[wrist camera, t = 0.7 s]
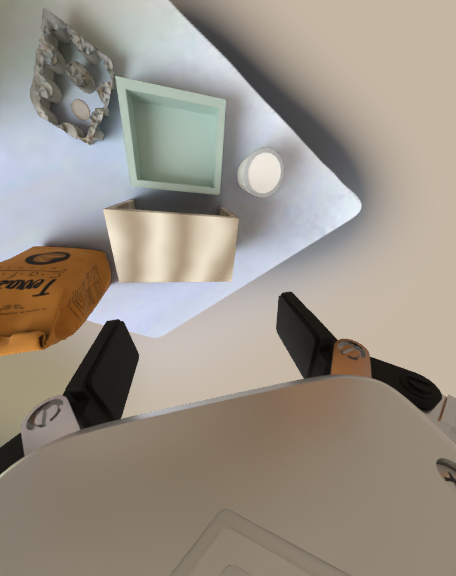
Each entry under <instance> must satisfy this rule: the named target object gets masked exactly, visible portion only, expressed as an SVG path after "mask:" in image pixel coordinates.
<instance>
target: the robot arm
mask: <svg viewBox="0 0 456 576" xmlns="http://www.w3.org/2000/svg"><path fill="white" fill-rule="evenodd" d="M276 330H277V333H278V335H279V337H280V338H281V340H282V342H283V344H284V345H285V347H286V349H287V350H288V352H289V354H290V356H291V357H292V359H293V361H294V362H295V364H296V366H297V368H298V369H299V371H300V373H301V375H302V376H303V378H304V379H302V380H296V381H291V382H286V383H281V384H277V385H272V386H268V387H263V388H258V389H253V390H249V391H244V392H239V393H235V394H231V395H226V396H221V397H216V398H212V399H207V400H203V401H198V402H194V403H189V404H185V405H180V406H176V407H172V408H167V409H163V410H158V411H154V412H149V413H145V414H140V415H136V416H132V417H128V418H123V419H121V417H122V414H123V410H124V407H125V403H126V400H127V397H128V393H129V390H130V387H131V383H132V380H133V376H134V373H135V370H136V366H137V363H138V359H139V354H138V351H137V349H136V347H135V345H134V343H133V341H132V339H131V336H130V334H129V332H128V330H127V328H126V326H125V323H124V322H123V321H120V320H119V319H117V320H111V321H107V322H106V323H105V325H104V326H103V328H102V330H101V331H100V333H99V335H98V336H97V338H96V340H95V341H94V343H93V345H92V346H91V348H90V349H89V351H88V353H87V355H86V356H85V358H84V359H83V361H82V363H81V364H80V366H79V368H78V369H77V371H76V373H75V374H74V376H73V377H72V379H71V381H70V382H69V384H68V386H67V387H66V390H65V392H64V394H63V395H58V396H54V397H51V398H48V399H47V400H45V401H43V402H42V403H40V404H39V405H37V406H36V407H35V408H34V409H33V410H32V411H31V412H30V413H29V414H28V415H27V416H26V418H25V419H24V421H23V423H22V425H21V433H19V434H18V435H17V436H15V437H14V438H13V439H11V440H10V441H9V442H7V443H6V444H4V445H3V446H2V447H0V576H456V398H454V397H452V396H450V395H448V396H447V397H446V396H444V395H442V394H441V392H440V390H439V389H438V388H437V387H436V385H435V384H433V383H432V382H431V381H430V380H428V379H426V378H425V377H424V376H422V375H419V374H417V373H415V372H412V371H409V370H406V369H403V368H401V367H398V366H395V365H392V364H389V363H387V362H384V361H381V360H378V359H375V358H372V357H370V355H369V352H368V350H367V349H366V348H365V347H364V346H363V345H361V344H359V343H358V342H356V341H353V340H350V339H340V340H337V339H336V338H335V337H334V336H333V335H332V334H331V332H330V331H329V330H328V329H327V328H326V327H325V326H324V325H323V324H322V323H321V322H320V321H319V320H318V319H317V317H316V316H315V315H314V314H313V313H312V312H311V311H310V310H308V309H307V308H306V307H305V305H304V304H303V303H302V302H301V301H300V300H299V299H298V298H297V297H296V296H295V295H294V294H293V293H292V292H285V293H282V294H281V296H279V300H278V312H277V325H276Z"/></svg>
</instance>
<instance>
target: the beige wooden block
mask: <svg viewBox="0 0 456 576" xmlns="http://www.w3.org/2000/svg"><path fill="white" fill-rule="evenodd" d="M103 211H104V216H105V220H106V225H107V229H108V234H109V238H110V243H111V248H112V252H113V257H114V261H115V266H116V270H117V275H118V279H119V283H129V282H225V281H232V274H233V266H234V257H235V249H236V240H237V232H238V223H239V218H238V217H236V216H235V215H233V214H232V213H231V212H229V211H228V210H226V209H225V208H223V207H219V215H205V214H191V213H177V212H162V211H148V210H136V209H135V202H134V200H127V201H124V202H122V203H119V204H116V205H113V206H111V207H108V208H105V209H103Z"/></svg>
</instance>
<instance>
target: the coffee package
mask: <svg viewBox="0 0 456 576" xmlns="http://www.w3.org/2000/svg"><path fill="white" fill-rule="evenodd" d="M110 284H111V270H110V267H109V262H108V259H107V257H106V255H105V253H104V252H102V251H98V250H90V249H79V248H65V247H45V246H36V247H32V248H30V249H28V250H26V251H24V252H22V253H20V254H19V255H17V256H15V257H13V258H11V259H8V260H5V261H3V262H0V356H3V355H9V354H16V353H21V352H28V351H36V350H44V349H46V348H47V347H49V346H51V345H54V344H56V343H58V342H59V341H61V340H65V339H66V338H67V337H69V336H71V335H73V334H74V333H75V332H76V331H77V330H78V329H79V328H80V327H81V326H82V324H83V323H84V322H85V321H86V319H87V318H88V316H89V315H90V314H91V313H92V311H93V310H94V308H95V307H96V306H97V304H98V303H99V301H100V300H101V298H102V297H103V295H104V293H105V292H106V291H107V289H108V288H109V286H110Z"/></svg>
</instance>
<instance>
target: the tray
mask: <svg viewBox="0 0 456 576" xmlns="http://www.w3.org/2000/svg"><path fill="white" fill-rule="evenodd" d="M115 79H116V86H117V93H118V100H119V107H120V114H121V121H122V128H123V135H124V142H125V149H126V156H127V163H128V170H129V177H130V184H131V187H140V188H151V189H161V190H172V191H182V192H193V193H203V194H214V195H220V186H221V170H222V155H223V140H224V125H225V109H226V99H221V98H216V97H212V96H207V95H202V94H198V93H193V92H188V91H184V90H179V89H174V88H170V87H165V86H160V85H156V84H151V83H146V82H141V81H137V80H132V79H127V78H123V77H118V76H115Z"/></svg>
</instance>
